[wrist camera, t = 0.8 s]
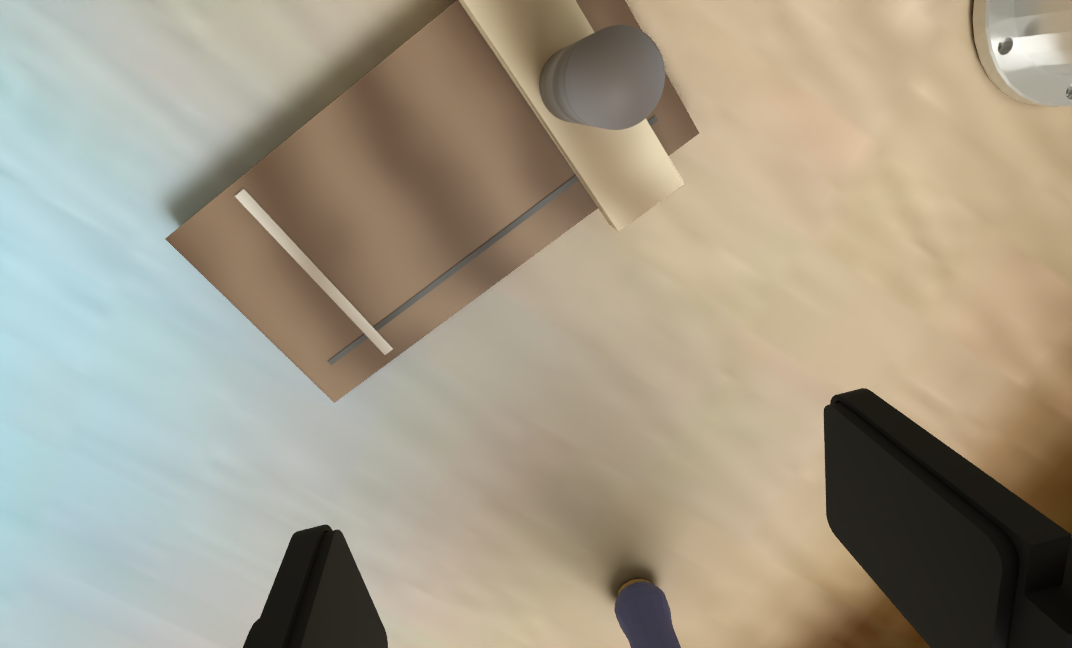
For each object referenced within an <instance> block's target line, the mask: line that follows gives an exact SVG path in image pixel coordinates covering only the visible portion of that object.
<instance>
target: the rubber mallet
mask: <svg viewBox="0 0 1072 648" xmlns="http://www.w3.org/2000/svg"><path fill="white" fill-rule="evenodd" d="M615 614H616V617H617V620H618V622H619V624H620V627H621V629H622V630H623V632H624V634H625V635H626V637H627V638H628V640H629V643H630V646H631V648H681V647H680V644H679V642H678V639H677V637H676V634H675V632H674V629H673V625H672V620H671V612H670V608H669V605H668V602H667V600H666V597H665V594H664V592H663V591H662V590H661V589H659V588H658V587H657V586H655V585H654V584H653V583H650V582H649V581H647V580H644V579H634V580H630V581H629V582H627V583H625V584H623V586H622V587H621V588H620V589H619V591H618V596H617V599H616V603H615Z"/></svg>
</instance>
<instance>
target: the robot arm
mask: <svg viewBox="0 0 1072 648" xmlns="http://www.w3.org/2000/svg"><path fill="white" fill-rule="evenodd" d="M973 28H974V40H975V45H976V48H977V52H978V55H979V59H980V62H981V64H982V65H983V67H984V69H985V71H986V73H987V75H988V77H989V78H990V79H991V80H992V82H993V83H994V84H995V85H996V86H997V87H998V88H999V89H1000V90H1001V91H1002V92H1003V93H1005V94H1007V95H1008V96H1010V97H1011V98H1013V99H1014V100H1016V101H1019V102H1023V103H1026V104H1029V105H1034V106H1054V107H1055V106H1072V0H974V9H973ZM824 441H825V478H826V514H827V520H828V523H829V526H830V528H831V530H832V532H833V533H834V535H835V536H836V537H837V538H838V539H839V541H840V542H841V543H842V544H843V545H844V547H845V548H846V549H847V550H848V551H849V552H850V554H851V555H852V556H853V557H854V558H855V559H856V561H857V562H858V563H859V564H860V565H861V566H862V568H863V569H864V570H865V571H866V572H867V574H868V575H869V576H870V577H871V578H872V579H873V581H874V582H875V583H876V584H877V585H878V586H879V588H880V589H881V590H882V591H883V592H884V593H885V595H886V596H887V597H888V598H889V599H890V601H891V602H892V603H893V604H894V605H895V606H896V608H897V609H898V610H899V611H900V612H901V613H902V615H903V616H904V617H905V618H906V619H907V620H908V622H909V623H910V624H911V625H912V626H913V627H914V629H915V630H916V631H917V632H918V633H919V635H920V636H921V637H922V638H923V639H924V640H925V642H926V643H927V644H928V645H929V646H930V647H931V648H1072V538H1071V534H1070V533H1068V532H1067V531H1066V530H1064V529H1063V528H1061V527H1060V526H1059V525H1057V524H1056V523H1054V522H1053V521H1052V520H1050V519H1049V518H1047V517H1046V516H1045V515H1043V514H1042V513H1040V512H1039V511H1038V510H1036V509H1035V508H1033V507H1032V506H1031V505H1029V504H1028V503H1026V502H1025V501H1024V500H1022V499H1021V498H1019V497H1018V496H1017V495H1015V494H1014V493H1012V492H1011V491H1010V490H1008V489H1007V488H1005V487H1004V486H1003V485H1001V484H1000V483H999V482H997V481H996V480H994V479H993V478H992V477H990V476H989V475H987V474H986V473H985V472H983V471H982V470H980V469H979V468H978V467H976V466H975V465H973V464H972V463H971V462H969V461H968V460H966V459H965V458H964V457H962V456H961V455H959V454H958V453H957V452H955V451H954V450H952V449H951V448H950V447H948V446H947V445H945V444H944V443H943V442H941V441H940V440H938V439H937V438H936V437H934V436H933V435H931V434H930V433H929V432H927V431H926V430H925V429H923V428H922V427H920V426H919V425H918V424H916V423H915V422H913V421H912V420H911V419H909V418H908V417H906V416H905V415H904V414H902V413H901V412H899V411H898V410H897V409H895V408H894V407H892V406H891V405H890V404H888V403H887V402H885V401H884V400H883V399H881V398H880V397H878V396H877V395H876V394H874V393H873V392H871V391H870V390H868V389H864V388H862V389H858V390H854V391H850V392H846V393H842V394H838V395H835V396H833V397H832V399H831V403H830V405H827V406H825V408H824ZM243 648H388V642H387V635H386V632H385V629H384V626H383V624H382V622H381V620H380V617H379V615H378V613H377V610H376V608H375V606H374V604H373V601H372V599H371V597H370V595H369V592H368V590H367V588H366V585H365V583H364V581H363V579H362V576H361V574H360V572H359V570H358V567H357V565H356V563H355V560H354V558H353V556H352V554H351V551H350V549H349V547H348V545H347V542H346V540H345V538H344V535H343V534H342V532H341V531H340V530H334V531H332V529H331V527H330V526H328V525H321V526H317V527H313V528H309V529H305V530H302V531H298V532H296V533H294V534H293V536H292V538H291V540H290V543H289V545H288V548H287V550H286V553H285V556H284V558H283V561H282V563H281V566H280V568H279V571H278V573H277V576H276V578H275V581H274V584H273V586H272V589H271V591H270V594H269V596H268V599H267V601H266V604H265V606H264V609H263V612H262V614H261V617H260V618H259V619H258V620H257V621H256V622H255V623H254V624H253V626H252V628H251V630H250V631H249V634H248V636H247V639H246V641H245V644H244V646H243Z"/></svg>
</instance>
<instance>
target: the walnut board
mask: <svg viewBox="0 0 1072 648" xmlns="http://www.w3.org/2000/svg"><path fill="white" fill-rule="evenodd" d="M576 2H577V4H578V5H579V7H580V9H581V10H582V12H583V14H584V15H585V17H586V19H587V20H588V22H589V24H590V26H591V27H592V29H593V31H594V32H597V31H599V30H601V29H603V28H606V27H609V26H614V25H626V26H631V27H635V28H637V29H639V30H641V29H640V27H639V25H638V23H637V21H636V20H635V18H634V16H633V14H632V13H631V11H630V9H629V7H628V5H627V4H626V2H625V0H576ZM641 31H642V30H641ZM646 120H647V121H648V123H649V125H650V126H651V128H652V130H653V131H654V133H655V135H656V136H657V138H658V140H659V141H660V143H661V145H662V147H663V148H664V150H665V152H666V153H667V155H668V156H669V155H670V154H672V153H673V152H674V151H676V150H677V149H679V148H680V147H681V146H683V145H684V144H685V143H687V142H688V141H689V140H691V139H692V138H693V137H695V136H696V135H697V134H699V132H698V130H697V128H696V126H695V125H694V123H693V121H692V119H691V117H690V116H689V114H688V112H687V110H686V109H685V107H684V105H683V103H682V101H681V100H680V98H679V96H678V94H677V93H676V91H675V89H674V87H673V85H672V84H671V82H670V80H669V78H668V77H667V75H666V73H665V83H664V88H663V92H662V95H661V98H660V100H659V102H658V104H657V106H656V107H655V109H654V110H653V111H652V112H651V114H650V115H649V116H648V117H647V118H646ZM597 208H598V207H597V205H596V204H595V202H594V201H593V199H592V198H591V196H590V195H589V193H588V192H587V190H586V189H585V187H584V186H583V184H582V183H581V181H580V180H579V179H578V177H577V176H576V174H575V173H574V171H573V170H572V168H571V167H570V165H569V164H568V162H567V161H566V159H565V158H564V156H563V155H562V153H561V152H560V150H559V149H558V147H557V146H556V144H555V143H554V141H553V140H552V138H551V137H550V135H549V134H548V132H547V131H546V129H545V128H544V127H543V125H542V124H541V122H540V121H539V119H538V118H537V116H536V115H535V113H534V112H533V110H532V109H531V107H530V106H529V104H528V103H527V101H526V100H525V98H524V97H523V95H522V94H521V92H520V91H519V89H518V88H517V86H516V85H515V83H514V82H513V80H512V79H511V77H510V76H509V75H508V73H507V72H506V70H505V69H504V67H503V66H502V64H501V63H500V61H499V60H498V58H497V57H496V55H495V54H494V52H493V51H492V49H491V48H490V46H489V45H488V43H487V42H486V40H485V39H484V37H483V36H482V34H481V33H480V31H479V30H478V28H477V27H476V25H475V24H474V23H473V21H472V20H471V18H470V17H469V15H468V14H467V12H466V11H465V9H464V8H463V6H462V5H461V3H460V2H459V0H456V1H455V2H454V3H453V4H451V5H450V6H449V7H448V8H447V9H445V10H444V11H443V12H442V13H440V14H439V15H438V16H437V17H436V18H434V19H433V20H432V21H431V22H429V23H428V24H427V25H426V26H425V27H423V28H422V29H421V30H420V31H418V32H417V33H416V34H415V35H414V36H412V37H411V38H410V39H409V40H407V41H406V42H405V43H404V44H403V45H401V46H400V47H399V48H398V49H396V50H395V51H394V52H393V53H392V54H390V55H389V56H388V57H387V58H385V59H384V60H383V61H382V62H381V63H379V64H378V65H377V66H376V67H374V68H373V69H372V70H371V71H370V72H368V73H367V74H366V75H365V76H363V77H362V78H361V79H360V80H359V81H357V82H356V83H355V84H354V85H352V86H351V87H350V88H349V89H348V90H346V91H345V92H344V93H343V94H341V95H340V96H339V97H338V98H337V99H335V100H334V101H333V102H332V103H330V104H329V105H328V106H327V107H326V108H324V109H323V110H322V111H321V112H319V113H318V114H317V115H316V116H315V117H313V118H312V119H311V120H310V121H308V122H307V123H306V124H305V125H304V126H302V127H301V128H300V129H299V130H297V131H296V132H295V133H294V134H293V135H291V136H290V137H289V138H288V139H286V140H285V141H284V142H283V143H282V144H280V145H279V146H278V147H277V148H275V149H274V150H273V151H272V152H271V153H269V154H268V155H267V156H266V157H265V158H263V159H262V160H261V161H260V162H258V163H257V164H256V165H255V166H254V167H252V168H251V169H250V170H249V171H247V172H246V173H245V174H244V175H243V176H241V177H240V178H239V179H238V180H236V181H235V182H234V183H233V184H232V185H230V186H229V187H228V188H227V189H225V190H224V191H223V192H222V193H221V194H219V195H218V196H217V197H216V198H214V199H213V200H212V201H211V202H210V203H208V204H207V205H206V206H205V207H203V208H202V209H201V210H200V211H199V212H197V213H196V214H195V215H194V216H192V217H191V218H190V219H189V220H188V221H186V222H185V223H184V224H183V225H181V226H180V227H179V228H178V229H177V230H175V231H174V232H173V233H172V234H170V235H169V236H168V237H167V238H166V240H167V241H168V242H169V243H170V244H171V245H172V246H173V247H174V248H175V249H176V250H177V251H178V252H179V253H180V254H181V255H182V256H183V257H184V258H186V259H187V260H188V261H189V262H190V263H191V264H192V265H193V266H194V267H195V268H196V269H197V270H198V271H199V272H200V273H201V274H202V275H203V276H204V277H205V278H206V279H207V280H208V281H209V282H210V283H211V284H212V285H213V286H214V287H215V288H216V289H218V290H219V291H220V292H221V293H222V294H223V295H224V296H225V297H226V298H227V299H228V300H229V301H230V302H231V303H232V304H233V305H234V306H235V307H236V308H237V309H238V310H239V311H240V312H241V313H242V314H243V315H244V316H245V317H246V318H247V319H248V320H250V321H251V322H252V323H253V324H254V325H255V326H256V327H257V328H258V329H259V330H260V331H261V332H262V333H263V334H264V335H265V336H266V337H267V338H268V339H269V340H270V341H271V342H272V343H273V344H274V345H275V346H276V347H277V348H278V349H279V350H280V351H282V352H283V353H284V354H285V355H286V356H287V357H288V358H289V359H290V360H291V361H292V362H293V363H294V364H295V365H296V366H297V367H298V368H299V369H300V370H301V371H302V372H303V373H304V374H305V375H306V376H307V377H308V378H309V379H310V380H311V381H312V382H314V383H315V384H316V385H317V386H318V387H319V388H320V389H321V390H322V391H323V392H324V393H325V394H326V395H327V396H328V397H329V398H330V399H331V400H332V401H333V402H334V403H335V402H336V401H337V400H339V399H340V398H341V397H343V396H344V395H345V394H347V393H348V392H349V391H351V390H352V389H354V388H355V387H356V386H358V385H359V384H360V383H362V382H363V381H364V380H366V379H367V378H368V377H370V376H371V375H372V374H374V373H375V372H377V371H378V370H379V369H381V368H382V367H383V366H385V365H386V364H387V363H389V362H390V361H391V360H393V359H394V358H396V357H397V356H398V355H400V354H401V353H402V352H404V351H405V350H406V349H408V348H409V347H410V346H412V345H413V344H414V343H416V342H417V341H419V340H420V339H421V338H423V337H424V336H425V335H427V334H428V333H429V332H431V331H432V330H433V329H435V328H436V327H437V326H439V325H440V324H442V323H443V322H444V321H446V320H447V319H448V318H450V317H451V316H452V315H454V314H455V313H456V312H458V311H459V310H461V309H462V308H463V307H465V306H466V305H467V304H469V303H470V302H471V301H473V300H474V299H475V298H477V297H478V296H479V295H481V294H482V293H484V292H485V291H486V290H488V289H489V288H490V287H492V286H493V285H494V284H496V283H497V282H498V281H500V280H501V279H502V278H504V277H505V276H507V275H508V274H509V273H511V272H512V271H513V270H515V269H516V268H517V267H519V266H520V265H521V264H523V263H524V262H526V261H527V260H528V259H530V258H531V257H532V256H534V255H535V254H536V253H538V252H539V251H540V250H542V249H543V248H544V247H546V246H547V245H549V244H550V243H551V242H553V241H554V240H555V239H557V238H558V237H559V236H561V235H562V234H563V233H565V232H566V231H567V230H569V229H570V228H572V227H573V226H574V225H576V224H577V223H578V222H580V221H581V220H582V219H584V218H585V217H586V216H588V215H589V214H591V213H592V212H593V211H595V210H596V209H597Z"/></svg>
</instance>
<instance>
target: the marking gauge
mask: <svg viewBox="0 0 1072 648" xmlns="http://www.w3.org/2000/svg"><path fill="white" fill-rule="evenodd" d="M459 2H460V3H461V5H462V6H463V8H464V9H465V11H466V12H467V14H468V15H469V17H470V18H471V20H472V21H473V23H474V24H475V25H476V27H477V28H478V30H479V31H480V33H481V34H482V36H483V37H484V39H485V40H486V42H487V43H488V45H489V46H490V48H491V49H492V51H493V52H494V54H495V55H496V57H497V58H498V60H499V61H500V63H501V64H502V66H503V67H504V69H505V70H506V72H507V73H508V75H509V76H510V77H511V79H512V80H513V82H514V83H515V85H516V86H517V88H518V89H519V91H520V92H521V94H522V95H523V97H524V98H525V100H526V101H527V103H528V104H529V106H530V107H531V109H532V110H533V112H534V113H535V115H536V116H537V118H538V119H539V121H540V122H541V124H542V125H543V127H544V128H545V129H546V131H547V132H548V134H549V135H550V137H551V138H552V140H553V141H554V143H555V144H556V146H557V147H558V149H559V150H560V152H561V153H562V155H563V156H564V158H565V159H566V161H567V162H568V164H569V165H570V167H571V168H572V170H573V171H574V173H575V174H576V176H577V177H578V179H579V180H580V181H581V183H582V184H583V186H584V187H585V189H586V190H587V192H588V193H589V195H590V196H591V198H592V199H593V201H594V202H595V204H596V205H597V207H598V208H599V210H600V211H601V213H602V214H603V216H604V217H605V219H606V220H607V222H608V223H609V224H610V225H611V226H612V227H613V228H615V229H616V230H617V231H618V232H619V231H620V230H622V229H623V228H624V227H626V226H627V225H629V224H630V223H631V222H633V221H634V220H635V219H637V218H638V217H639V216H641V215H642V214H644V213H645V212H646V211H648V210H649V209H650V208H652V207H653V206H655V205H656V204H657V203H659V202H660V201H661V200H663V199H664V198H666V197H667V196H668V195H670V194H671V193H672V192H674V191H675V190H677V189H678V188H679V187H681V186H682V185H683V184H685V183H684V182H683V180H682V178H681V177H680V175H679V173H678V172H677V170H676V168H675V167H674V165H673V163H672V162H671V160H670V158H669V157H668V155H667V153H666V152H665V150H664V148H663V147H662V145H661V143H660V141H659V140H658V138H657V136H656V135H655V133H654V131H653V130H652V128H651V126H650V125H649V123H648V121H647V120H646V118H647V117H648V116H649V115H650V114H651V112H652V111H653V110H654V109H655V107H656V106H657V104H658V102H659V100H660V98H661V95H662V92H663V88H664V83H665V67H664V62H663V58H662V55H661V53H660V51H659V49H658V47H657V45H656V44H655V42H654V41H653V40H652V39H651V38H650V37H649V36H648V35H647V34H646V33H644V32H642V31H641V30H639V29H637V28H635V27H631V26H626V25H614V26H609V27H606V28H603V29H601V30H599V31H597V32H594V31H593V29H592V27H591V26H590V24H589V22H588V20H587V19H586V17H585V15H584V14H583V12H582V10H581V9H580V7H579V5H578V4H577V2H576V0H459Z"/></svg>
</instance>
